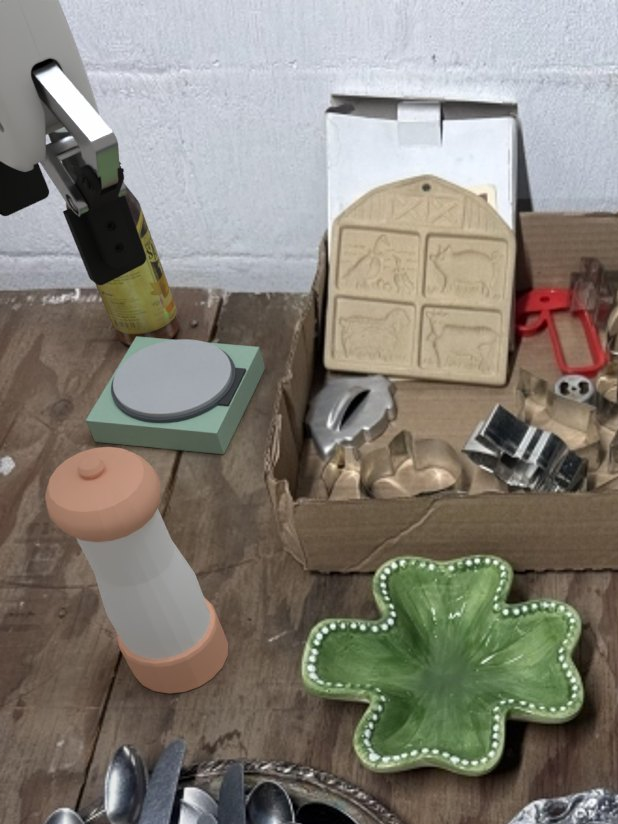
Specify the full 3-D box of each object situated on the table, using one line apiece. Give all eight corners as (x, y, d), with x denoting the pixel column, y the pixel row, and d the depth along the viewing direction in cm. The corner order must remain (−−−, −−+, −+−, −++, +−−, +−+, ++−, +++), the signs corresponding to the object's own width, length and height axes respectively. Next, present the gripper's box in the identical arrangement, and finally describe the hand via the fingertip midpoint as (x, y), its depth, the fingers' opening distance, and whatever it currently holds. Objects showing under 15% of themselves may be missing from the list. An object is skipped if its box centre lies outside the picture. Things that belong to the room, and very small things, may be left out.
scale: (95, 442, 95) (81, 413, 92) (144, 357, 102) (133, 328, 99) (224, 454, 94) (214, 425, 91) (265, 368, 100) (257, 339, 98)
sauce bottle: (193, 336, 103) (122, 125, 87) (132, 360, 102) (48, 149, 85) (166, 303, 107) (93, 94, 90) (106, 326, 105) (21, 116, 88)
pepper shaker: (197, 705, 78) (105, 514, 63) (112, 678, 80) (1, 486, 64) (246, 632, 82) (170, 436, 66) (164, 608, 84) (72, 411, 68)
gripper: (-258, -167, 47) (-68, 208, 61) (-66, -63, 40) (98, 334, 54) (-99, -211, 50) (47, 157, 64) (106, -120, 43) (219, 270, 57)
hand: (70, 237), depth 59 cm, fingers open, 9 cm apart
